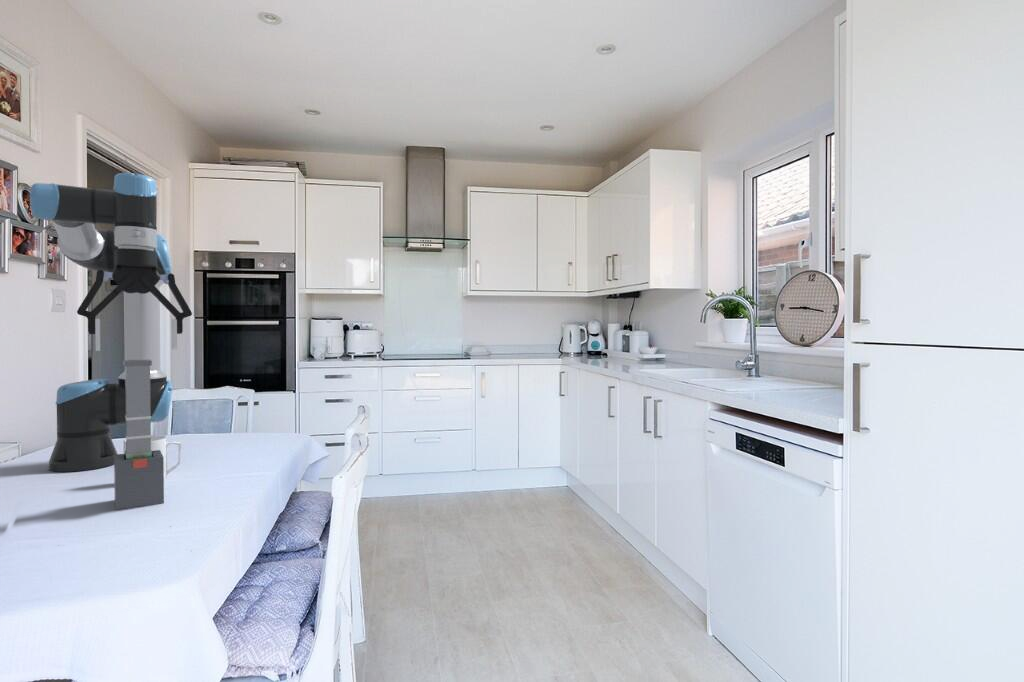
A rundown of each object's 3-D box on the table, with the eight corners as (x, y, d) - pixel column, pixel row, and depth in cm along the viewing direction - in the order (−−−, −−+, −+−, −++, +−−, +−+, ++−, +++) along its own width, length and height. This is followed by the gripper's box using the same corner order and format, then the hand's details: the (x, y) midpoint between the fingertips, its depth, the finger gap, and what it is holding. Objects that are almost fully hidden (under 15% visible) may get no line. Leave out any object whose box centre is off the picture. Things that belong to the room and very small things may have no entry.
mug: (121, 490, 134) (121, 443, 134) (126, 481, 142) (126, 436, 142) (180, 484, 140) (180, 439, 140) (182, 476, 148) (182, 433, 148)
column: (124, 462, 123) (123, 360, 122) (151, 459, 126) (149, 359, 125) (125, 467, 119) (124, 361, 118) (152, 464, 122) (151, 360, 121)
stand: (92, 506, 123) (92, 454, 123) (178, 494, 132) (178, 445, 132) (92, 522, 113) (91, 465, 113) (185, 507, 123) (185, 455, 122)
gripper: (60, 242, 111) (62, 352, 112) (205, 252, 126) (206, 349, 126) (62, 245, 117) (63, 350, 118) (200, 255, 132) (200, 347, 132)
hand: (137, 349), depth 122 cm, fingers open, 13 cm apart
